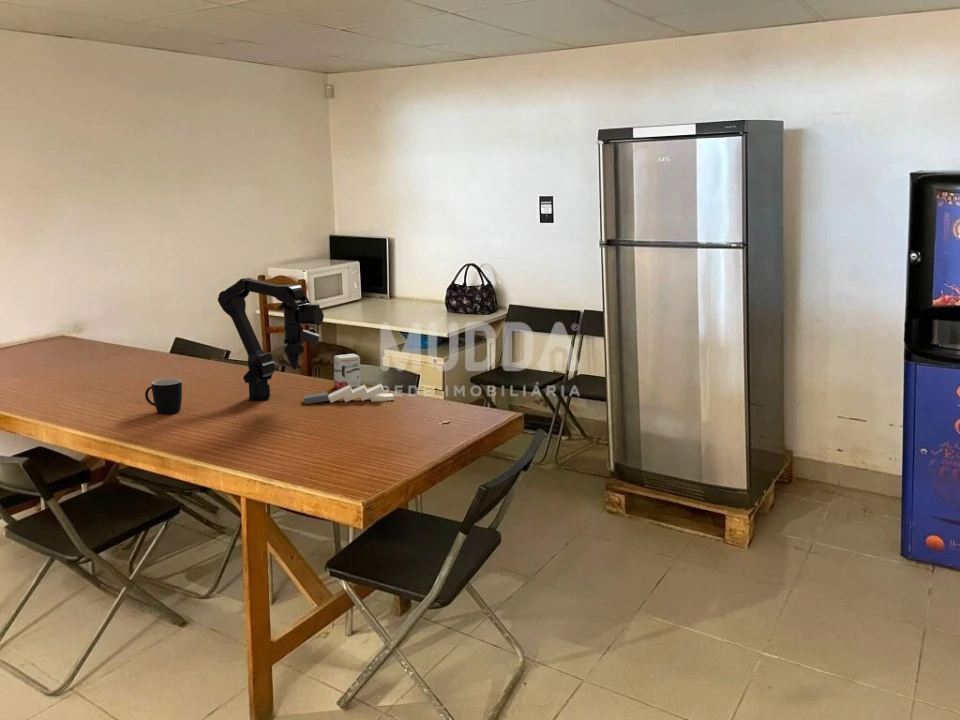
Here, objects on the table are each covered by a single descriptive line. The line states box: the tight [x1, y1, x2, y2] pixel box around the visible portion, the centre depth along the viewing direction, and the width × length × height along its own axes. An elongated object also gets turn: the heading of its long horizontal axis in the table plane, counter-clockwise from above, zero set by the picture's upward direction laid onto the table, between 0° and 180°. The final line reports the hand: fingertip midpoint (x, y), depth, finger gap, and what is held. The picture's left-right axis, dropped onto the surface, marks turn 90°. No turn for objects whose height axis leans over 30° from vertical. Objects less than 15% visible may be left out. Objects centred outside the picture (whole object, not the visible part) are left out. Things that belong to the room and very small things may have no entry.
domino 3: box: [343, 384, 368, 403], centre depth 267 cm, size 2×4×8 cm
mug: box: [144, 378, 183, 416], centre depth 249 cm, size 12×9×10 cm
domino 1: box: [303, 391, 330, 405], centre depth 264 cm, size 2×4×8 cm
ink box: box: [333, 353, 361, 390], centre depth 285 cm, size 8×5×12 cm, turn 124°
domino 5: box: [369, 392, 395, 402], centre depth 269 cm, size 2×4×8 cm
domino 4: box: [359, 383, 384, 402], centre depth 267 cm, size 2×4×8 cm
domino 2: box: [328, 385, 353, 404], centre depth 266 cm, size 2×4×8 cm
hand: (294, 369), depth 260 cm, fingers closed
